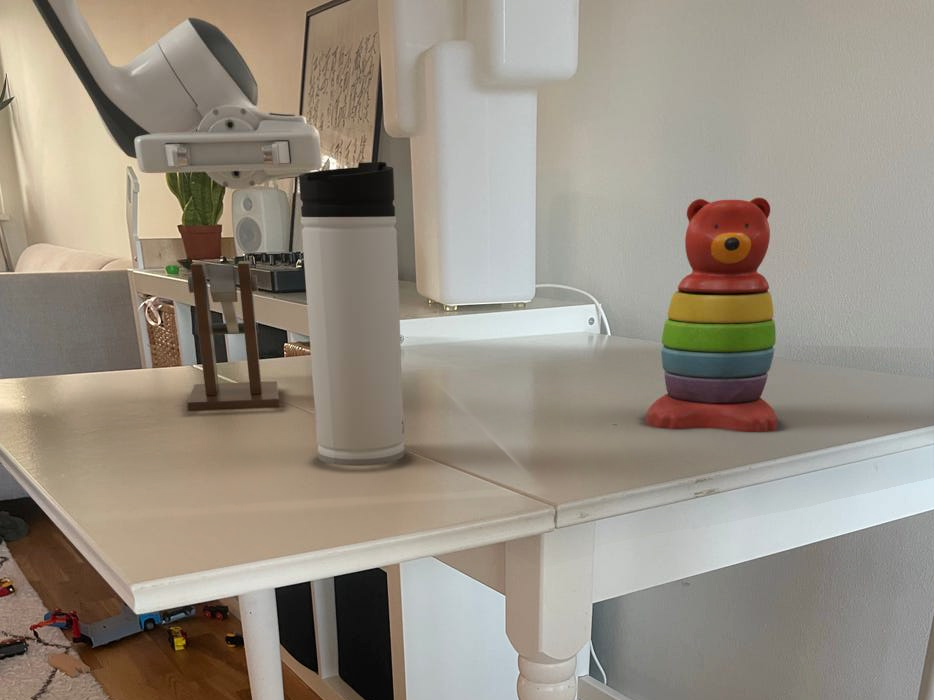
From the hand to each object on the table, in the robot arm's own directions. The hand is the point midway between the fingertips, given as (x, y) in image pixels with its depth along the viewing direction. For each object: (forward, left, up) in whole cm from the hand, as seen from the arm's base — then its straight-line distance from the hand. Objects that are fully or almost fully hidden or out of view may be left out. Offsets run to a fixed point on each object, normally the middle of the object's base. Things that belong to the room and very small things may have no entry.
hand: (225, 156), depth 103 cm
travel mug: (+20, -44, -22) cm, 53 cm away
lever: (+3, -16, -15) cm, 22 cm away
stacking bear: (+48, -28, -22) cm, 60 cm away
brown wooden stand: (+5, -22, -22) cm, 32 cm away
